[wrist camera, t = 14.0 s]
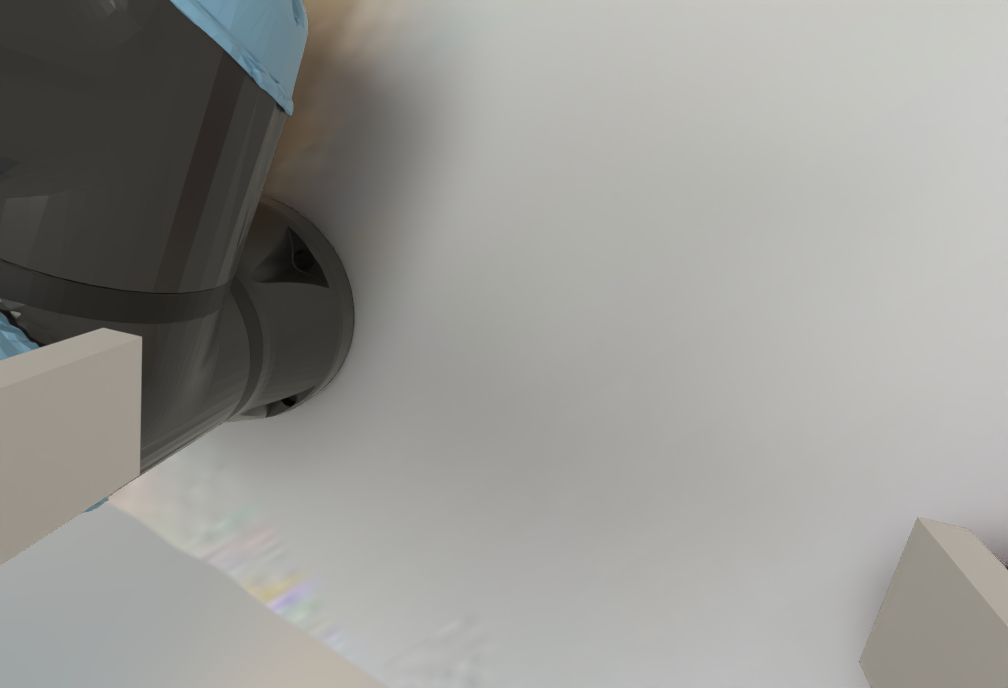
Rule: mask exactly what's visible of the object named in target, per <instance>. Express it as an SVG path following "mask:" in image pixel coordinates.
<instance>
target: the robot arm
mask: <svg viewBox="0 0 1008 688" xmlns="http://www.w3.org/2000/svg"><path fill="white" fill-rule="evenodd" d="M307 37H308V17H307V12H306V9H305V6H304V3H303V1H302V0H0V565H2V564H3V563H5V562H6V561H8V560H9V559H11V558H12V557H14V556H15V555H17V554H19V553H20V552H22V551H23V550H25V549H26V548H28V547H29V546H31V545H33V544H34V543H36V542H37V541H39V540H40V539H42V538H43V537H45V536H46V535H48V534H49V533H51V532H53V531H54V530H56V529H57V528H59V527H60V526H62V525H63V524H65V523H67V522H68V521H70V520H71V519H73V518H74V517H76V516H77V515H79V514H81V513H83V512H88V511H92V510H94V509H96V508H98V507H99V506H100V505H102V504H103V503H104V502H105V501H107V500H108V496H110V495H112V493H114V492H116V491H117V490H119V489H120V488H122V487H123V486H125V485H127V484H128V483H130V482H131V481H133V480H134V479H136V478H137V477H139V476H141V475H142V474H144V473H145V472H147V471H148V470H150V469H152V468H153V467H155V466H156V465H158V464H159V463H161V462H163V461H164V460H166V459H167V458H169V457H170V456H172V455H173V454H175V453H177V452H178V451H180V450H181V449H183V448H184V447H186V446H188V445H189V444H191V443H192V442H194V441H195V440H197V439H198V438H200V437H202V436H203V435H205V434H206V433H208V432H209V431H211V430H213V429H214V428H215V427H217V426H218V425H220V424H222V423H223V422H233V421H242V420H252V419H261V418H268V417H272V416H276V415H279V414H282V413H285V412H287V411H289V410H292V409H294V408H296V407H298V406H299V405H301V404H302V403H304V402H305V401H307V400H308V399H310V398H311V397H312V396H314V395H315V394H316V393H318V392H319V391H320V390H322V389H323V388H324V387H325V386H326V385H327V384H328V383H329V382H330V381H331V380H332V379H333V377H334V376H335V375H336V373H337V372H338V370H339V369H340V367H341V365H342V364H343V362H344V360H345V357H346V355H347V352H348V350H349V346H350V343H351V339H352V333H353V324H354V308H353V299H352V294H351V289H350V285H349V282H348V279H347V276H346V273H345V270H344V268H343V266H342V264H341V262H340V260H339V258H338V256H337V254H336V252H335V251H334V249H333V248H332V246H331V245H330V243H329V242H328V241H327V239H326V238H325V237H324V236H323V235H322V233H321V232H320V231H319V230H318V229H317V228H316V227H315V226H314V225H313V224H312V223H311V222H310V221H308V220H307V219H306V218H305V217H303V216H302V215H301V214H299V213H298V212H296V211H295V210H293V209H292V208H290V207H288V206H286V205H284V204H282V203H280V202H278V201H275V200H273V199H270V198H267V197H263V196H261V194H262V191H263V188H264V185H265V182H266V179H267V176H268V173H269V170H270V167H271V164H272V161H273V158H274V155H275V152H276V149H277V146H278V143H279V140H280V137H281V134H282V131H283V128H284V125H285V122H286V119H287V116H292V113H293V108H294V105H293V101H292V95H293V90H294V86H295V82H296V79H297V75H298V71H299V67H300V64H301V60H302V56H303V52H304V49H305V45H306V41H307ZM859 663H860V665H861V667H862V669H863V671H864V673H865V675H866V678H867V680H868V682H869V684H870V686H871V688H1008V570H1007V569H1006V567H1005V566H1004V565H1003V564H1002V563H1001V562H1000V561H999V560H998V559H997V558H996V557H995V556H994V555H993V554H992V553H991V551H990V550H989V549H988V548H987V547H986V546H985V545H984V544H983V543H982V542H981V541H980V540H979V539H978V538H977V537H976V536H975V534H974V533H973V532H972V531H971V530H970V529H966V528H962V527H957V526H953V525H949V524H945V523H940V522H936V521H932V520H927V519H923V518H919V517H917V519H916V522H915V524H914V527H913V529H912V532H911V534H910V536H909V539H908V541H907V544H906V546H905V549H904V551H903V554H902V556H901V559H900V561H899V564H898V566H897V569H896V571H895V574H894V576H893V579H892V581H891V584H890V586H889V589H888V591H887V594H886V596H885V599H884V601H883V604H882V606H881V609H880V611H879V614H878V616H877V619H876V621H875V623H874V626H873V628H872V631H871V633H870V636H869V638H868V641H867V643H866V646H865V648H864V651H863V653H862V656H861V658H860V661H859Z"/></svg>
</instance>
